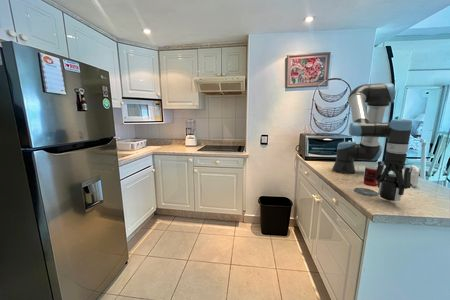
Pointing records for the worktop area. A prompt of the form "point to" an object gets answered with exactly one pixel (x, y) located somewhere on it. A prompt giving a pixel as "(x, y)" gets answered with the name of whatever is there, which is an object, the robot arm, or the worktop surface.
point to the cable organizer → (412, 175)
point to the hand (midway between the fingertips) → (388, 197)
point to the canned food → (370, 176)
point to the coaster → (366, 191)
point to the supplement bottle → (389, 187)
